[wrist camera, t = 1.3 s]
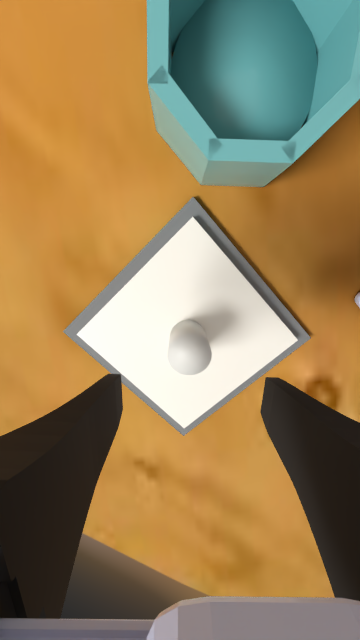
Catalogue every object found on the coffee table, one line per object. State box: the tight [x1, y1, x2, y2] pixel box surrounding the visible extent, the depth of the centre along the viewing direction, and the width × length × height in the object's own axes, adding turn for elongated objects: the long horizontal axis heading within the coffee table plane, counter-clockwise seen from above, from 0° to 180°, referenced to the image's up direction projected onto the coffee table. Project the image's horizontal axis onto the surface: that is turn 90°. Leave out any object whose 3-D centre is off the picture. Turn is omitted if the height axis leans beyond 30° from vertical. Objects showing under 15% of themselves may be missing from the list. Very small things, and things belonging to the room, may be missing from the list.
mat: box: [63, 197, 310, 436], centre depth 19 cm, size 15×15×1 cm
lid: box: [77, 217, 298, 428], centre depth 17 cm, size 13×13×4 cm
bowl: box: [147, 0, 360, 187], centre depth 13 cm, size 11×11×4 cm
